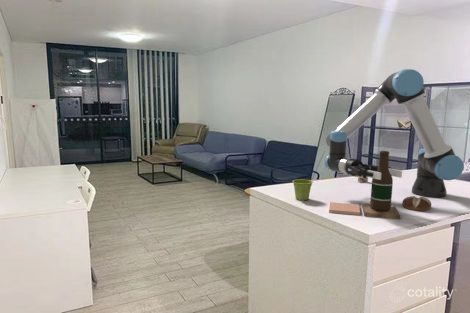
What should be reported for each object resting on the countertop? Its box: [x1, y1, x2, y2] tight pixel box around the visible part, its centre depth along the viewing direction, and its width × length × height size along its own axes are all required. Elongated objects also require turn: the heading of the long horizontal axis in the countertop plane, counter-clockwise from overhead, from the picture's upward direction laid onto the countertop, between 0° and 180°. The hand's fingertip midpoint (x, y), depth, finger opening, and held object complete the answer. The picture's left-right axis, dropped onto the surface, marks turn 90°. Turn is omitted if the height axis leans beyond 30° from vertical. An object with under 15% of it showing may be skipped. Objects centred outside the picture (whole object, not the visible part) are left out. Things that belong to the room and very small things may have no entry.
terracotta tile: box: [328, 201, 361, 216], centre depth 138 cm, size 12×12×1 cm
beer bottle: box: [369, 150, 394, 212], centre depth 133 cm, size 8×8×24 cm
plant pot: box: [292, 178, 314, 202], centre depth 155 cm, size 9×9×9 cm
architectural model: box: [353, 176, 369, 183], centre depth 194 cm, size 3×7×7 cm, turn 52°
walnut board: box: [361, 203, 401, 220], centre depth 134 cm, size 13×13×2 cm
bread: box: [401, 195, 432, 212], centre depth 142 cm, size 11×11×5 cm
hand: (391, 175), depth 128 cm, fingers open, 10 cm apart
